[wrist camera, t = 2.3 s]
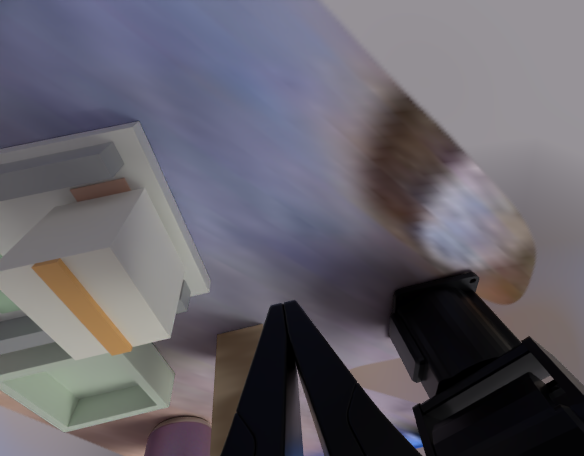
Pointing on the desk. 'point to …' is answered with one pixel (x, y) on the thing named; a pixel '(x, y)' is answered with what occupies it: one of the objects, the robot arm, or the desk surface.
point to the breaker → (97, 275)
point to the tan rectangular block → (230, 379)
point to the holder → (86, 384)
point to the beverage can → (180, 438)
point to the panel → (79, 187)
